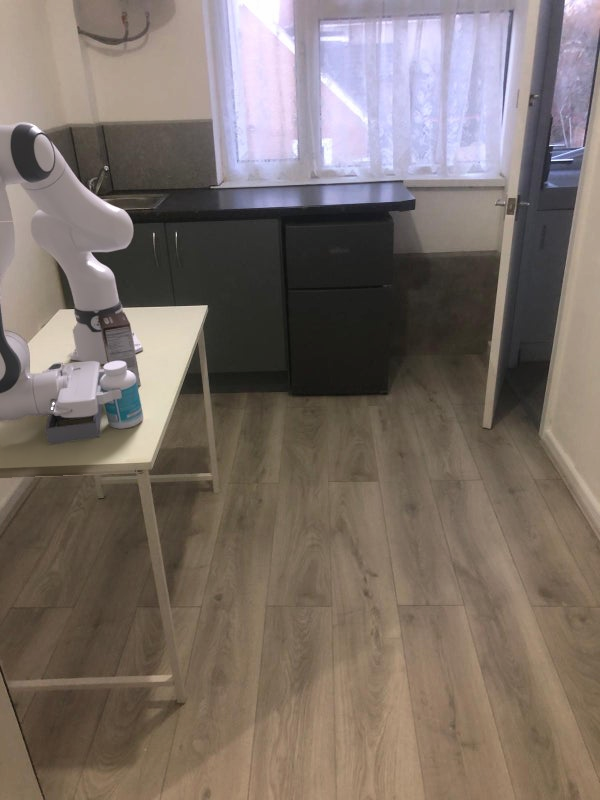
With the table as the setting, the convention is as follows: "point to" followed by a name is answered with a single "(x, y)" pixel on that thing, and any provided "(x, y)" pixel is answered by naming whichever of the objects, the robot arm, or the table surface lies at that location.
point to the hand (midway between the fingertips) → (121, 383)
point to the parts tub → (72, 429)
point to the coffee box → (119, 341)
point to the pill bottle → (129, 405)
